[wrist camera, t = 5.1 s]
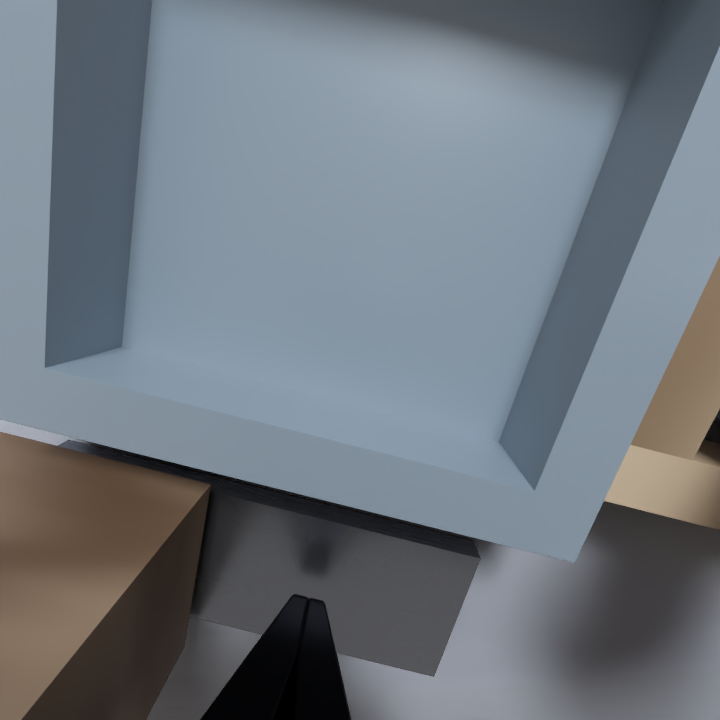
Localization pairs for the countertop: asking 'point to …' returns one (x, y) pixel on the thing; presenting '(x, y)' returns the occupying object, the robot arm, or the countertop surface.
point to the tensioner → (91, 581)
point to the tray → (359, 241)
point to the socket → (680, 428)
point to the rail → (325, 569)
